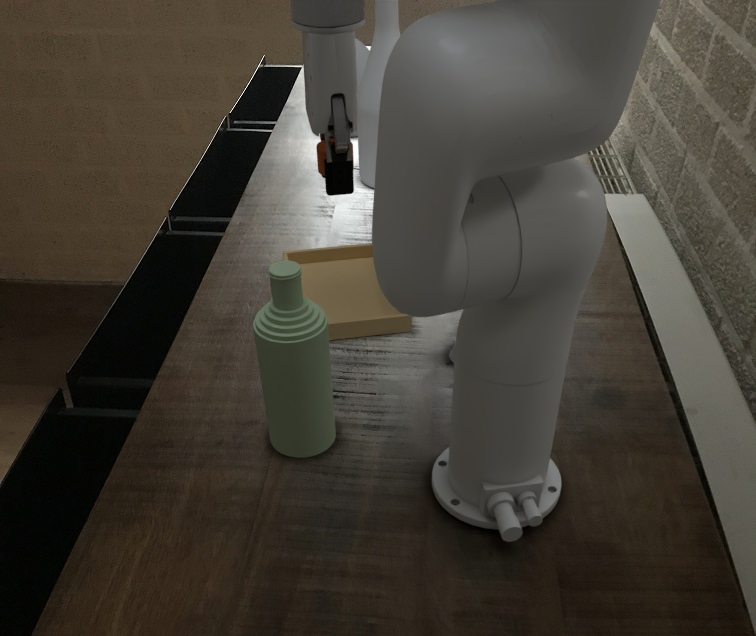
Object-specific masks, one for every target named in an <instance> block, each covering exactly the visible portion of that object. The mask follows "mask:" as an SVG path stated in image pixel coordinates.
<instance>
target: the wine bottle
mask: <svg viewBox="0 0 756 636" xmlns="http://www.w3.org/2000/svg"><path fill="white" fill-rule="evenodd" d="M399 13H400V12H399V0H374V30H373V37H372V41H371V45H370V49H369V51H370V52H369V56H368V60H367V64H366V67H365V71H364V75H363V78H362V82H361V85H360V89H359V94H358V98H357V127H358V136H357V149H358V151H357V154H358V174H359V178H360V180H361V182H362V183H364V185H366V186H368V187H370V188H373V189H374V186H375V171H376V156H377V140H378V125H379V110H380V100H381V91H382V82H383V77H384V72H385V68H386V65H387V62H388V59H389V56H390V54H391V52H392V50H393V47H394V45H395V44H396V42H397V40H398V39H399V37H400V36H401V35H402V34H401V30H400V16H399Z"/></svg>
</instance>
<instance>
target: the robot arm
mask: <svg viewBox="0 0 756 636" xmlns="http://www.w3.org/2000/svg"><path fill="white" fill-rule="evenodd" d="M289 1H290V12H291V13H290V14H291V23H292V24H291V25H292V27H293V28H295V29H296V30H297V31H301V44H302V45H301V46H302V64H303V65H302V67H303V81H304V101H305V102H304V103H305V111H306V116H307V120H308V122H309V127H310V129H311V132H312V134H313V135H314V136H315V137H319V138H320V142H321V141H323V140H325V148H326V159H324V169H325V176H323V175H321V177H322V178H323V179H324V183H325V194H326V195H327V196H328V197H331V196H332V197H333V196H342V195H344V196H345V195H352V194H353V193H354V192H355V183H354V180H355V179H354V170H353V161H354V157H353V158H352V156H351V137H350V131H351V133H354V132H355V131H356V129H357V69H356V45H355V38H356V30H358V29H360V28H362V27H364V26H365V24H366V0H289ZM661 1H662V0H495V1H491V2H484V3H478V4H471V5H464V6H459V7H451V8H448V9H442V10H438V11H435V12H432V13H430V14H427V15H424V16H422V17H420V18H418V19H416V20H415V21H413V22H412V23H411V24H410V25H409V26H407V28H405V30H404V31H403V32H402V33H401V34H400V35H401V36H400V37H399V39H398V40H397V42H396V44H395V45H394V47H393V50H392V52H391V54H390V56H389V59H388V62H387V65H386V68H385V72H384V77H383V82H382V91H381V100H380V110H379V125H378V140H377V156H376V171H375V186H374V188H373V202H372V218H371V219H372V220H371V243H372V253H373V262H374V268H375V273H376V277H377V280H378V283H379V286H380V288H381V290H382V292H383V294H384V296H385V297H386V299H387V300H388V301H389V303H390V304H391V305H392V306H393V307H394V308H396V309H397V310H398V311H400V312H402V313H404V314H406V315H409V316H412V317H415V318H430V317H436V316H441V315H446V314H450V313H455V312H459V311H461V314H460V317H459V320H458V324H457V328H456V335H455V343H456V346H455V360H454V363H453V376H452V377H453V379H452V394H451V395H452V396H451V412H450V428H449V429H450V430H449V444H448V445H449V446H448V447H447V448H445V449H444V450H443V451H442V452H441V454H440V455H439V456H438V457H437V458H436V460H435V461H434V464H433V466H432V471H431V488H432V492H433V494H434V496H435V499H436V500H437V502H438V503H439V505H440V506H441V508H443V509H444V510H445V511H446V512H448V514H449V515H451V516H453V517H454V518H456V519H458V520H459V521H461V522H463V523H466V524H468V525H471V526H474V527H478V528H482V529H489V530H497V531H499V534H500V537H501V539H502V540H503V541H505V542H506V543H507V542H508V543H510V542H511V543H512V542H516V541H517V540H519V539H520V538H521V537H522V536H523V528H525V527H527V526H530V527H537V526H540V525H541V524H543V521H544V520H543V519H544V518H545V517H546V516H548V515H549V514H550V513H551V512H552V511H553V510H554V509H555V507H556V505H557V504H558V502H559V500H560V497H561V491H562V486H563V485H562V476H561V473H560V470H559V467H558V466H557V464H556V463H555V462H554V461H553V459H552V458H551V454H552V449H553V444H554V439H555V432H556V428H557V421H558V417H559V411H560V410H559V409H560V406H561V399H562V393H563V389H564V383H565V377H566V372H567V367H568V362H569V357H570V351H571V347H572V340H573V334H574V331H575V326H576V322H577V318H578V315H579V314H578V313H579V311H580V307H581V303H582V300H583V297H584V295H585V292H586V289H587V287H588V284H589V282H590V280H591V277H592V275H593V273H594V270H595V268H596V266H597V263H598V260H599V258H600V255H601V252H602V249H603V246H604V242H605V237H606V233H607V226H608V205H607V199H606V195H605V191H604V189H603V186H602V183H601V182H600V180H599V178H598V176H597V175H596V174H595V172H594V171H593V170H592V169H591V168H590V167H589V166H588V165H586V164H585V163H584V162H583V161H581V160H579V159H577V157H580V156H583V155H586V154H589V153H591V152H593V151H595V150H597V149H598V148H599V147H600V146H602V145H603V144H604V143H605V142H607V140H609V138H610V137H611V136H612V134H613V133H614V132H615V130H616V128H617V126H618V125H619V122H620V120H621V118H622V116H623V113H624V111H625V108H626V107H627V106H626V105H627V103H628V100H629V98H630V95H631V91H632V88H633V86H634V83H635V80H636V76H637V75H638V71H639V68H640V64H641V62H642V58H643V55H644V54H645V53H644V52H645V49H646V46H647V43H648V41H649V38H650V35H651V32H652V28H653V25H654V22H655V19H656V16H657V13H658V10H659V6H660V3H661ZM333 138H335V140H334V142H332V143H331V141H330V139H333Z"/></svg>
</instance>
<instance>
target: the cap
mask: <svg viewBox="0 0 756 636" xmlns="http://www.w3.org/2000/svg"><path fill="white" fill-rule="evenodd" d="M334 140H335V138H333V139H330V141H331V143H332V142H334ZM351 156H352V158H353V159H354V143H353V142H351ZM324 159H326V148H325V140H323V141H321V140H320V141H319V142H317V144H316V160H317V172H318V173H319V174H320V176H322V175H323V176H325V169H324ZM354 161H355V160H353V171H355V165H354V164H355V163H354Z"/></svg>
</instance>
